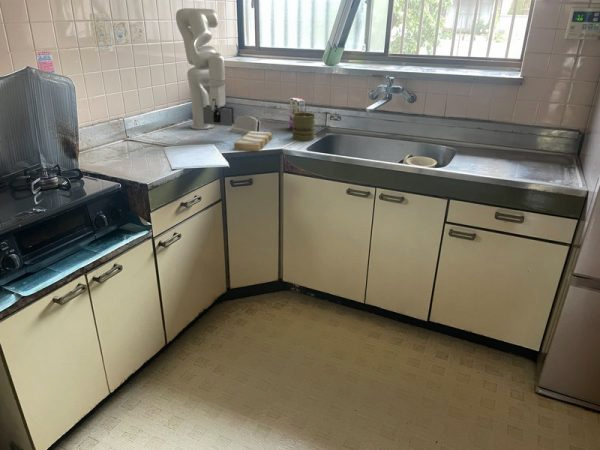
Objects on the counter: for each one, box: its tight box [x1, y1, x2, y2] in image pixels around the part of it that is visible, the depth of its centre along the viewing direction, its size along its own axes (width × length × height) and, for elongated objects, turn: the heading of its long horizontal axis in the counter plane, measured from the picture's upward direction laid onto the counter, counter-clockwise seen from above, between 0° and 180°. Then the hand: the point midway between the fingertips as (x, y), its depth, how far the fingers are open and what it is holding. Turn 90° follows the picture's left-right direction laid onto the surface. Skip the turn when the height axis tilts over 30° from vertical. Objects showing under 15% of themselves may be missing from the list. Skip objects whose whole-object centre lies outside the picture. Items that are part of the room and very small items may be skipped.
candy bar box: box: [289, 97, 307, 130], centre depth 242 cm, size 11×5×16 cm, turn 25°
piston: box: [291, 112, 316, 142], centre depth 226 cm, size 11×12×11 cm
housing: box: [203, 105, 235, 127], centre depth 218 cm, size 5×14×8 cm, turn 78°
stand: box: [233, 131, 274, 152], centre depth 216 cm, size 24×12×3 cm, turn 168°
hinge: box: [230, 114, 262, 135], centre depth 236 cm, size 17×5×10 cm, turn 53°
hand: (219, 120), depth 219 cm, fingers closed on housing, 5 cm apart
